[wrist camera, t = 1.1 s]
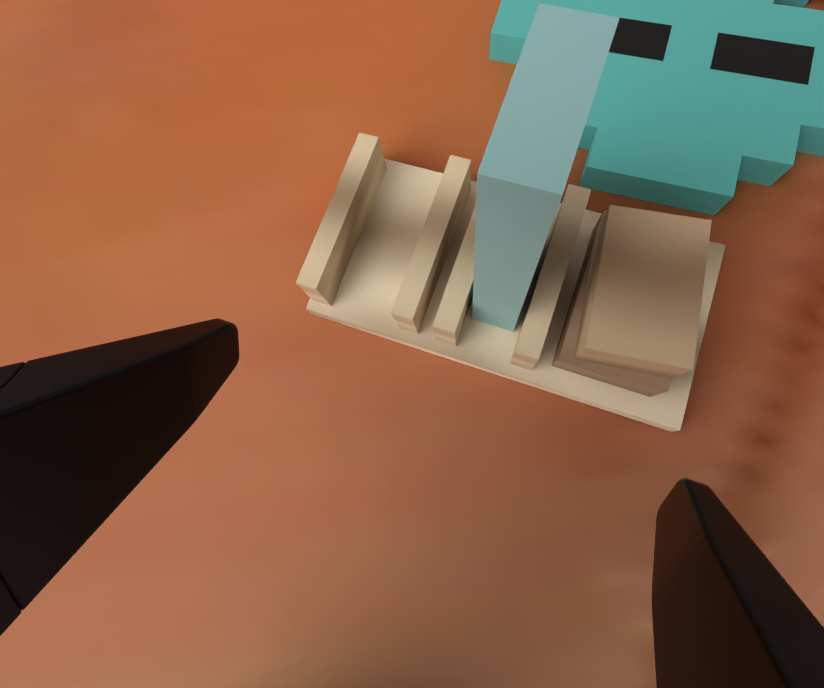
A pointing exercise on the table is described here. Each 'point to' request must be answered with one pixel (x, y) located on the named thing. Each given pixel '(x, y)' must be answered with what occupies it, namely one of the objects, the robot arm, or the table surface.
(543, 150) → the teal panel
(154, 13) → the table surface
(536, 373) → the birch rack
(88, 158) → the table surface
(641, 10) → the alien figure
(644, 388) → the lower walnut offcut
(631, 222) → the upper oak offcut
